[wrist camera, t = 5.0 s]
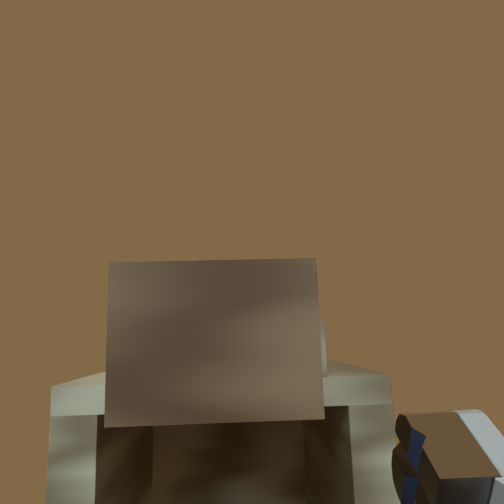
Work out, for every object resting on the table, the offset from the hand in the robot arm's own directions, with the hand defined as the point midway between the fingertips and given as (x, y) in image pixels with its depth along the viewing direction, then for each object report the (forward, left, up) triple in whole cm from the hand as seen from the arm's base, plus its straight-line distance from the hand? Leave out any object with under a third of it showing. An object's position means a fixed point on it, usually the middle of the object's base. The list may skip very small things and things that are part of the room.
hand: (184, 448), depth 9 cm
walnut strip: (-1, -9, 0) cm, 9 cm away
